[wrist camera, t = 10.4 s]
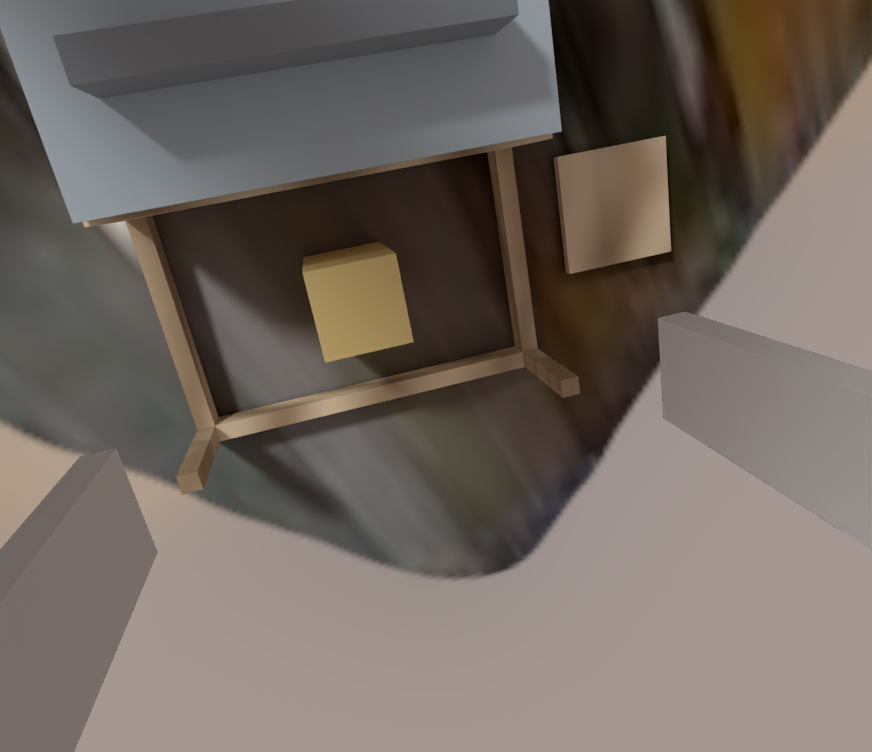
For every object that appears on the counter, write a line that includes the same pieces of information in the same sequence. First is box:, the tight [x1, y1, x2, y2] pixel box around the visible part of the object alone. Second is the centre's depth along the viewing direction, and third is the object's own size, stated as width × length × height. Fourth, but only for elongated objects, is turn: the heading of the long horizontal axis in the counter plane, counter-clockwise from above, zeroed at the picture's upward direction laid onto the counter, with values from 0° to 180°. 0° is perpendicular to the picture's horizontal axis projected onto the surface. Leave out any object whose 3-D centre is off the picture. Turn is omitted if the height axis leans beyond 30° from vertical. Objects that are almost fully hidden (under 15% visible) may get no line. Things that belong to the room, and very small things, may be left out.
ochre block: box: [302, 242, 414, 363], centre depth 32 cm, size 4×4×7 cm
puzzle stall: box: [83, 134, 580, 494], centre depth 29 cm, size 21×28×8 cm
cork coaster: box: [553, 136, 671, 274], centre depth 37 cm, size 7×7×1 cm
